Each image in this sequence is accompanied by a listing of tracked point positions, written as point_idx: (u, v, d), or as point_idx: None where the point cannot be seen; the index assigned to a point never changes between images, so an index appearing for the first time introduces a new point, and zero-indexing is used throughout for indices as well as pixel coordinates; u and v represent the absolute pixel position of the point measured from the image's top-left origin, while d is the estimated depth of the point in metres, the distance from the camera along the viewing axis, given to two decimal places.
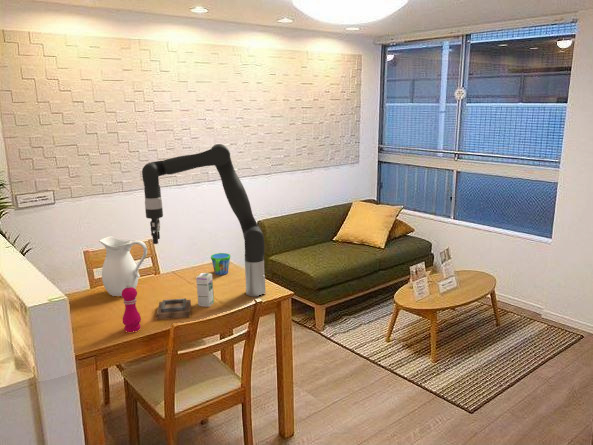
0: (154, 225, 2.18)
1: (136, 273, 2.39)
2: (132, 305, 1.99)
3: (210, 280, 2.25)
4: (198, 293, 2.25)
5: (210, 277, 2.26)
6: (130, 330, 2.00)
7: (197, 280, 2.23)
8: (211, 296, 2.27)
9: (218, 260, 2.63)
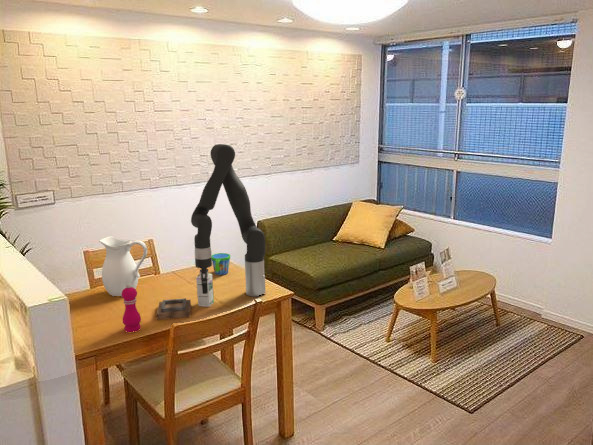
0: (205, 276, 2.19)
1: (136, 273, 2.39)
2: (132, 305, 1.99)
3: (210, 280, 2.25)
4: (198, 293, 2.25)
5: (210, 277, 2.26)
6: (130, 330, 2.00)
7: (197, 280, 2.23)
8: (211, 296, 2.27)
9: (218, 260, 2.63)
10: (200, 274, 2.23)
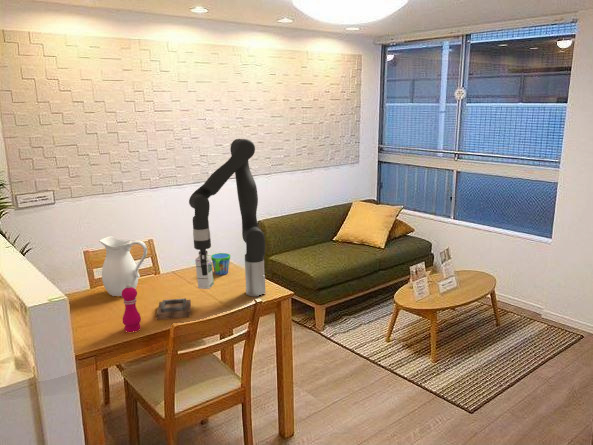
0: (204, 257, 2.16)
1: (136, 273, 2.39)
2: (132, 305, 1.99)
3: (209, 261, 2.23)
4: (198, 275, 2.23)
5: (209, 259, 2.23)
6: (130, 330, 2.00)
7: (196, 262, 2.21)
8: (211, 278, 2.25)
9: (218, 260, 2.63)
10: (199, 256, 2.20)
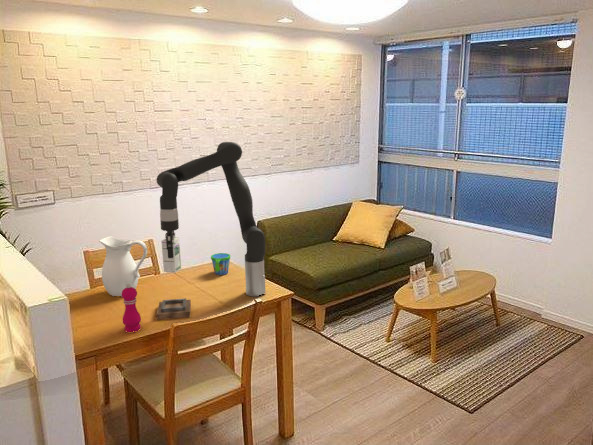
0: (170, 239, 2.06)
1: (136, 273, 2.39)
2: (132, 305, 1.99)
3: (176, 244, 2.13)
4: (163, 258, 2.13)
5: (176, 241, 2.13)
6: (130, 330, 2.00)
7: (162, 244, 2.11)
8: (177, 262, 2.15)
9: (218, 260, 2.63)
10: (166, 237, 2.10)
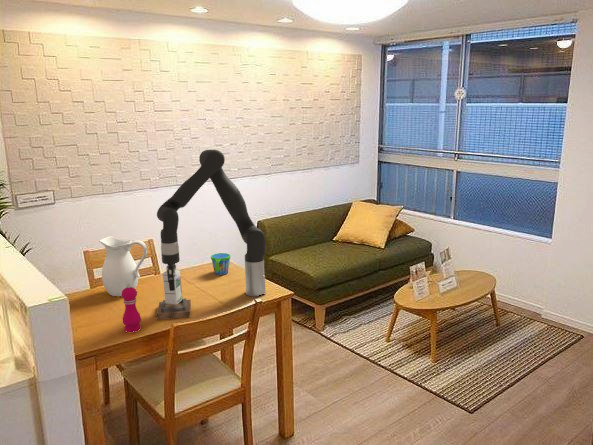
0: (171, 272, 2.09)
1: (136, 273, 2.39)
2: (132, 305, 1.99)
3: (177, 276, 2.16)
4: (165, 290, 2.16)
5: (177, 273, 2.16)
6: (130, 330, 2.00)
7: (163, 277, 2.14)
8: (179, 293, 2.18)
9: (218, 260, 2.63)
10: (167, 270, 2.13)
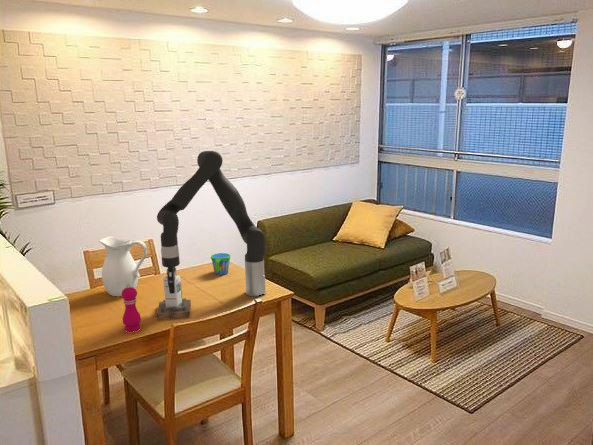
0: (171, 275, 2.09)
1: (136, 273, 2.39)
2: (132, 305, 1.99)
3: (178, 281, 2.16)
4: (166, 295, 2.16)
5: (178, 278, 2.17)
6: (130, 330, 2.00)
7: (164, 282, 2.14)
8: (179, 298, 2.18)
9: (218, 260, 2.63)
10: None
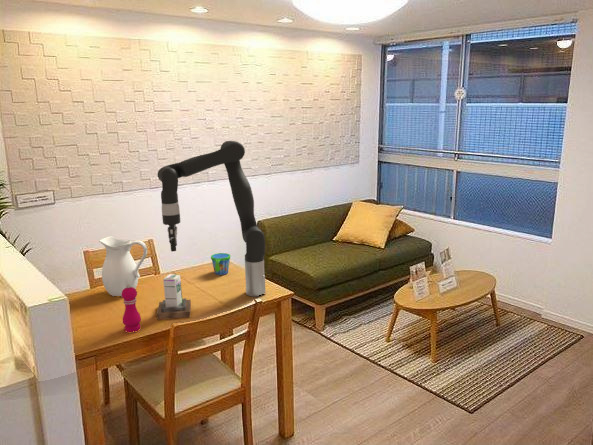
0: (172, 232, 2.09)
1: (136, 273, 2.39)
2: (132, 305, 1.99)
3: (178, 281, 2.16)
4: (166, 295, 2.16)
5: (178, 278, 2.17)
6: (130, 330, 2.00)
7: (164, 282, 2.14)
8: (179, 298, 2.18)
9: (218, 260, 2.63)
10: (168, 231, 2.13)
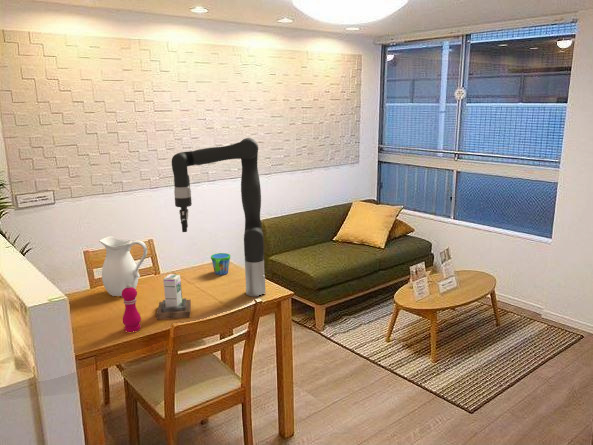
0: (184, 213, 2.23)
1: (136, 273, 2.39)
2: (132, 305, 1.99)
3: (178, 281, 2.16)
4: (166, 295, 2.16)
5: (178, 278, 2.17)
6: (130, 330, 2.00)
7: (164, 282, 2.15)
8: (179, 298, 2.18)
9: (218, 260, 2.63)
10: (180, 213, 2.27)
